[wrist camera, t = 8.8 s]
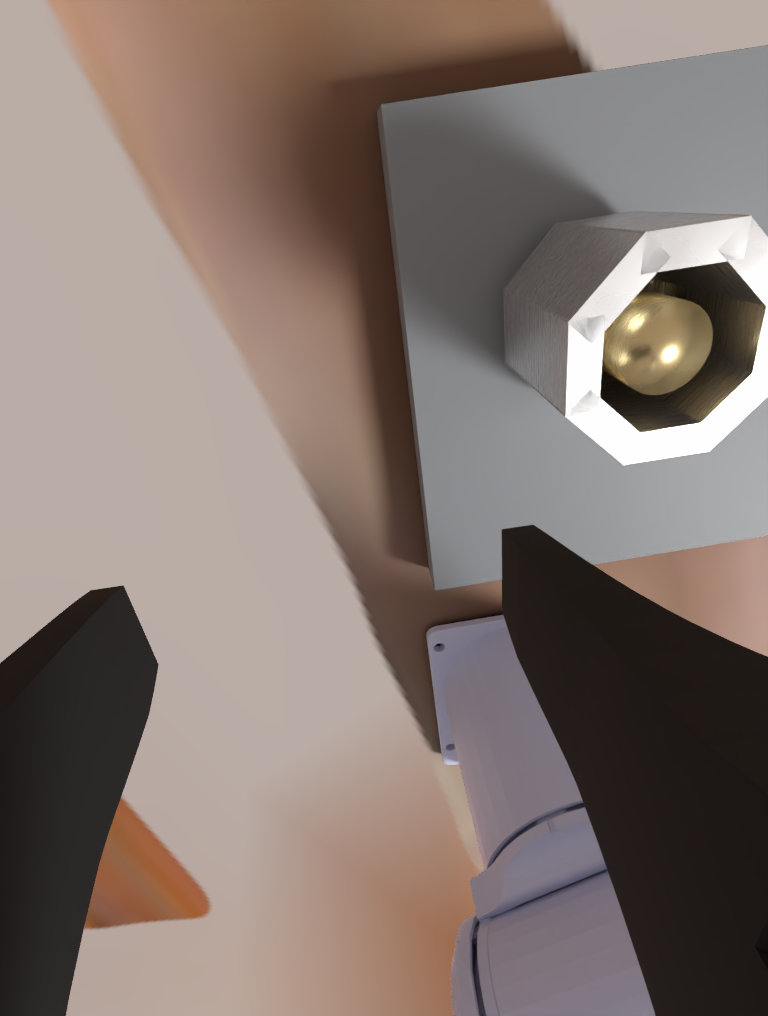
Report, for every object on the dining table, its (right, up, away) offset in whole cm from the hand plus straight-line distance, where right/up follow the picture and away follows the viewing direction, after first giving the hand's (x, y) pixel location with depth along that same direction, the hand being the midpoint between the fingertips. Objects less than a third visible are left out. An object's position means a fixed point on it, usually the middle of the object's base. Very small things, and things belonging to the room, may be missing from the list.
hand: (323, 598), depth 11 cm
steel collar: (+7, +8, +6) cm, 12 cm away
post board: (+13, +8, +9) cm, 18 cm away
